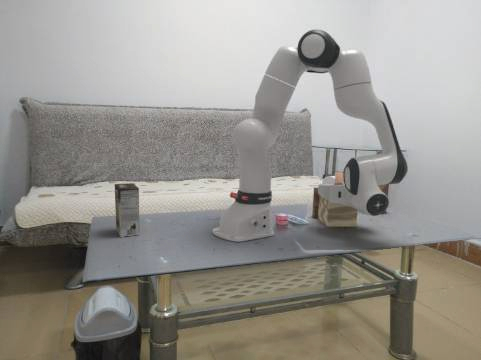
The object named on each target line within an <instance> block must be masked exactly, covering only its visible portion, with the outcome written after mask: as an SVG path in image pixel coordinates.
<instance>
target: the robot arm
mask: <svg viewBox="0 0 481 360" xmlns="http://www.w3.org/2000/svg"><path fill="white" fill-rule="evenodd" d="M368 65H369V64H368V62H367V59H366V56H365V53H363V52H362V51H360V50H359V49H355V48H354V49H353V48H350V49H345V50H343V49H342V50H341V47H340V45H339V44H338V43H337V41H336V40H335V38H334V37H332V36H331V34H329V33H328V32H327V31H325V30H322V29H315V28H314V29H310V30H309V31H307V32H305V33H304V34H303V35H302V36H301V38H299V41H298V43H297V47H296V46H293V45H284V46H280V47H279V48H278V49H277V50H276V52H275V54H273V57H272V59H271V61H270V62H269V64H268V66H267V68H266V71H265V72H264V75H263V77H262V79H261V81H260V84H259V87H258V89H257V92H256V94H255V98H254V99H255V101H254V107H253V111H252V115H251V118H247V119H244V120H242V121H240V122H239V123H238V124H237V125H236V126H235V127H234V129H233V131H232V139H233V140H232V141H233V143H234V145H235V147H236V154H237V157H238V159H237V160H238V167H239V177H238V178H239V180H238V181H239V184H238V185H239V187H238V190H237V193H236V192H234V191H231V192H230V193H229V197H230V198H231V199H234V202H233V203H232V204H231V205H230V206H229V207H228V208H227V209H226V210H225V211H224V212H223V213H221V215H220V219H219V223H218V226H217V227H215V228H213V229H212V230H211V233H212V234H213V235H214V236H216V237H218V238H220V239H223V240H226V241H229V242H234V243H235V242H236V243H237V242H245V241H251V240H256V239H262V238H268V237H274V236H275V231H274V225H273V212H272V206H271V205H272V204H271V202H272V198H273V193H272V188H271V187H272V165H271V161H270V155H269V149H270V148H271V147H272V146H273V145H274V144H275V143H276V141H277V139H278V135H279V133H280V129H281V127H282V123H283V120H284V118H285V114H286V110H287V108H288V106H289V103H290V101H291V99H292V96H293V94H294V92H295V90H296V87H297V85H298V83H299V80H300V79H301V77H302V75H303V74H304V73H305V72H306V73H309V74H310V73H311V74H312V73H313V74H314V73H315V74H326V73H328V74H329V75H330V77H331V81H332V87H333V94H334V99H335V100H334V101H335V104H336V107H337V109H338V110H339V111H340V112H342V113H343V114H344V115H346V116H348V117H351V118H354V119H359V120H363V121H366V122H367V123H370V124H371V125H372V126H373V127H374V128H375V131H376V135H377V138H378V141H379V144H380V146H381V148H380V149H381V153H376V154H369V155H363V156H356V157H351V158H350V159H349V160H348V161H347V162H346V164H345V166H344V169H343V171H342V172H343V178H344V183H335V184H322V183H319V184H318V187H317V188H318V194H319V195H320V196H321V197H323V198H325V199H327V200H329V202H330V203H334V204H341V205H346V206H349V207H350V206H351V207H352V208H355V209H356V210H357V211H358V212H359V213H361V214H364V215H366V216H368V217H369V216H371V217H377V216H380V215H383V214H382V213H383V212H384V211H385V210H386V211H387V209H388V207H389V204H390V200H389V197H387V196H386V195H385V194H384V193H383V192H382V191H381V190H380V188H379V185H384V184H389V185H396V184H397V185H398V184H400V183H401V182H402V181H403V180H404V178H405V177H406V176H407V173H408V170H409V169H408V168H409V167H408V163H407V160H406V158H405V156H404V154H403V151H402V150H401V147H400V143H399V140H398V137H397V134H396V130H395V128H394V123H393V120H392V117H391V115H390V112H389V109H388V107H387V105H386V103H385V102H384V101H382V100H381V99H379V98H378V97H377V95H376V93H375V91H374V89H373V84H372V78H371V73H370V69H369V66H368Z"/></svg>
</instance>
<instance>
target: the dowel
mask: <svg viewBox="0 0 481 360" xmlns="http://www.w3.org/2000/svg"><path fill="white" fill-rule="evenodd" d="M343 172H344V171H342V172H340V171H336V172H334V174H335V175H334V176H335V183H344V178H343Z"/></svg>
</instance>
